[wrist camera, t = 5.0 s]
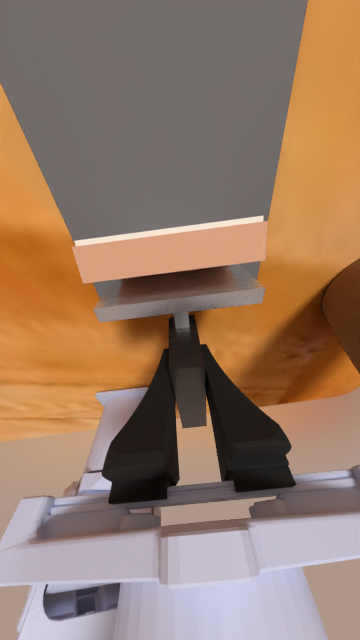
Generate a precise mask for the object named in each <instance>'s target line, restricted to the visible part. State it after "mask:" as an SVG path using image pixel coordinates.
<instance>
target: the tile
mask: <svg viewBox="0 0 360 640" xmlns="http://www.w3.org/2000/svg"><path fill="white" fill-rule="evenodd" d="M267 222H268V221H263V216H257V217H249V218H242V219H234V220H227V221H219V222H212V223H204V224H197V225H189V226H182V227H174V228H167V229H159V230H152V231H144V232H137V233H129V234H122V235H114V236H107V237H99V238H92V239H84V240H77V241H74V242H75V245H76V246H75V247H72V249H73V253H74V256H75V259H76V262H77V265H78V268H79V272H80V275H81V278H82V281H83V284H84V283H92V282H100V281H107V280H115V279H123V278H131V277H139V276H147V275H154V274H162V273H170V272H178V271H186V270H193V269H201V268H209V267H217V266H225V265H233V264H240V263H248V262H256V261H264V260H266V242H267Z"/></svg>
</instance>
